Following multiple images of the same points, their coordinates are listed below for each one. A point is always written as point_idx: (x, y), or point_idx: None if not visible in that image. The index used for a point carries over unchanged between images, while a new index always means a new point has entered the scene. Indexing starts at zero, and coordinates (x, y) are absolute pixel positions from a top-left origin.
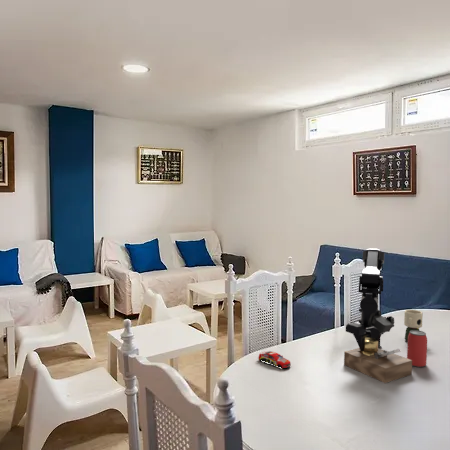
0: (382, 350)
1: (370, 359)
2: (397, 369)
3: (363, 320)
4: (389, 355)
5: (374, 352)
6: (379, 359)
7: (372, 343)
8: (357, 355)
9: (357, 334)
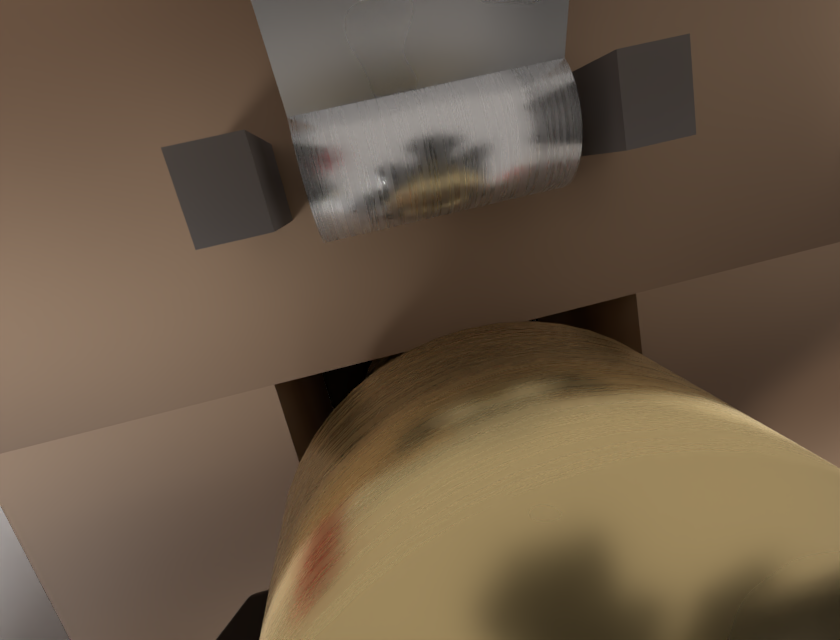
0: (79, 533)
1: (763, 102)
2: None
3: None
4: (100, 188)
5: (516, 322)
6: (567, 21)
7: (794, 455)
8: (824, 394)
9: None
